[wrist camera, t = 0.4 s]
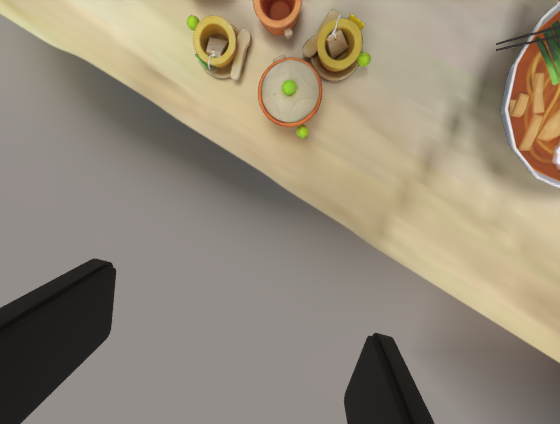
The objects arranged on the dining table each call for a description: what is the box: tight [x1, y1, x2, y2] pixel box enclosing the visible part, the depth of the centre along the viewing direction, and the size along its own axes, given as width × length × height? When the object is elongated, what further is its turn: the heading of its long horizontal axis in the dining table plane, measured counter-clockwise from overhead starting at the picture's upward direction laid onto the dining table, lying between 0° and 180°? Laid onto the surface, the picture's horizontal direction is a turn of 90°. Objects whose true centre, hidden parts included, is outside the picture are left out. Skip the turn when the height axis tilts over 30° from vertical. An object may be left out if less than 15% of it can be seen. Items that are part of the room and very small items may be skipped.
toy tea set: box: [187, 0, 371, 138], centre depth 30 cm, size 26×16×10 cm, turn 57°
